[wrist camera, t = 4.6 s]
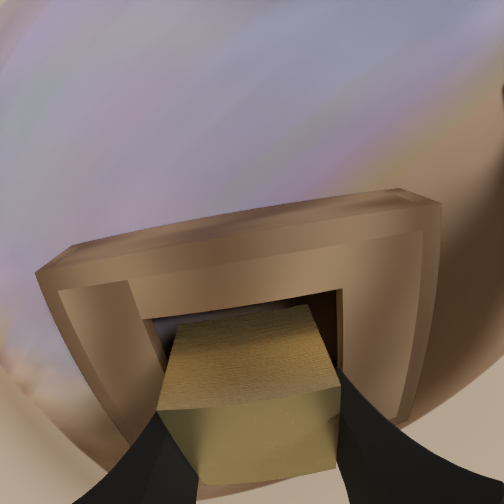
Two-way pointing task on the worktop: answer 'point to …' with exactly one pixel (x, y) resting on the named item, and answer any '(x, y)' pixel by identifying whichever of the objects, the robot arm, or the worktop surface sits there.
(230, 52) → the worktop surface
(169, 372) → the wooden block
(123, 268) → the brown wooden frame
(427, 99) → the worktop surface
